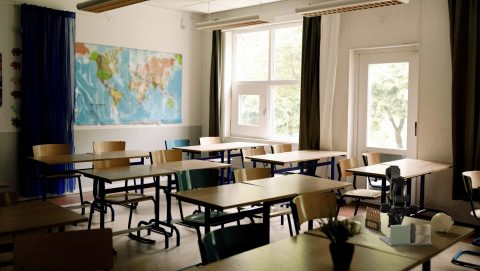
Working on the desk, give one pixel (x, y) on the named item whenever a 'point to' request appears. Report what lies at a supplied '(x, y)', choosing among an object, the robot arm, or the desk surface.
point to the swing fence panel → (399, 234)
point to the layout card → (387, 241)
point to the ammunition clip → (373, 219)
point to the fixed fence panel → (420, 233)
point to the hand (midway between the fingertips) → (400, 222)
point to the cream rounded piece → (442, 222)
